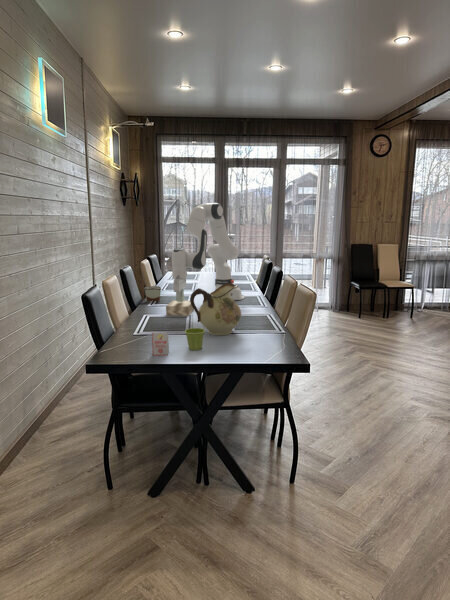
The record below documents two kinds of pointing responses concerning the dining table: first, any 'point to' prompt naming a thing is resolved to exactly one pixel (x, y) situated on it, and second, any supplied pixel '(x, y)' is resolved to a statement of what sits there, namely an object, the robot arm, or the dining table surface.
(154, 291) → the food container
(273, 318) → the dining table surface
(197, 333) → the plant pot
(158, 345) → the white printed box
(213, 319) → the pitcher
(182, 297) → the sage block
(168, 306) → the birch riser block
